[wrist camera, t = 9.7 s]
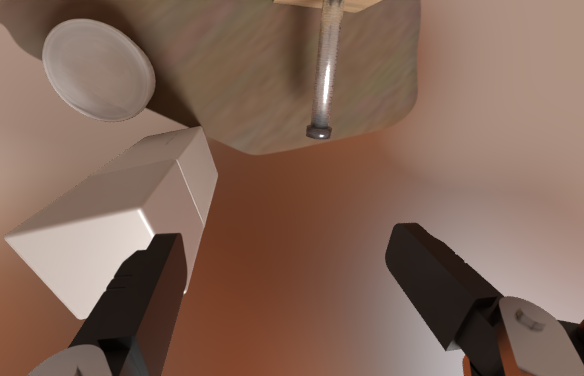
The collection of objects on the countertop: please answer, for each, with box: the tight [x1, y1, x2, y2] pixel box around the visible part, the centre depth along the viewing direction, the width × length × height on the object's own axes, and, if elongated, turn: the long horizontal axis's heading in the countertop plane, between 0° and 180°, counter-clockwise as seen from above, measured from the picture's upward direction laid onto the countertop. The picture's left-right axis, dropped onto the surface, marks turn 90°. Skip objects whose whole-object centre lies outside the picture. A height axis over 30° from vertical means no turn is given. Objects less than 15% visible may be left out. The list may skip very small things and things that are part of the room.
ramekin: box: [42, 19, 156, 122], centre depth 31 cm, size 11×11×5 cm
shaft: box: [306, 0, 345, 139], centre depth 29 cm, size 19×3×3 cm, turn 176°
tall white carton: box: [4, 126, 218, 319], centre depth 29 cm, size 9×9×25 cm
